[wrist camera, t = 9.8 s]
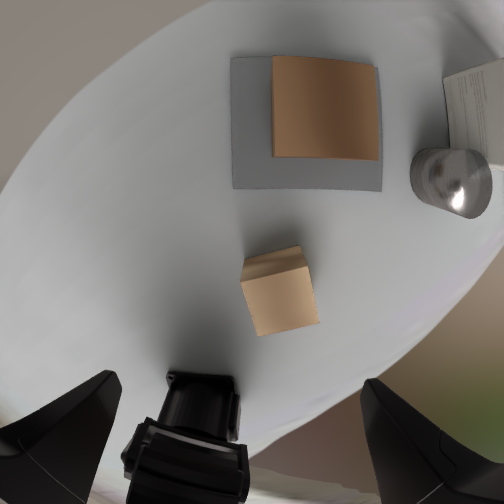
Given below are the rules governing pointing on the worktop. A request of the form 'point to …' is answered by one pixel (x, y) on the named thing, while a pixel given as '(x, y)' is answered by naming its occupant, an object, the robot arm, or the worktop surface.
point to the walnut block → (323, 109)
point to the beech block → (279, 291)
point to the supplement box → (478, 110)
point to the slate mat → (260, 141)
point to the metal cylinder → (452, 180)
